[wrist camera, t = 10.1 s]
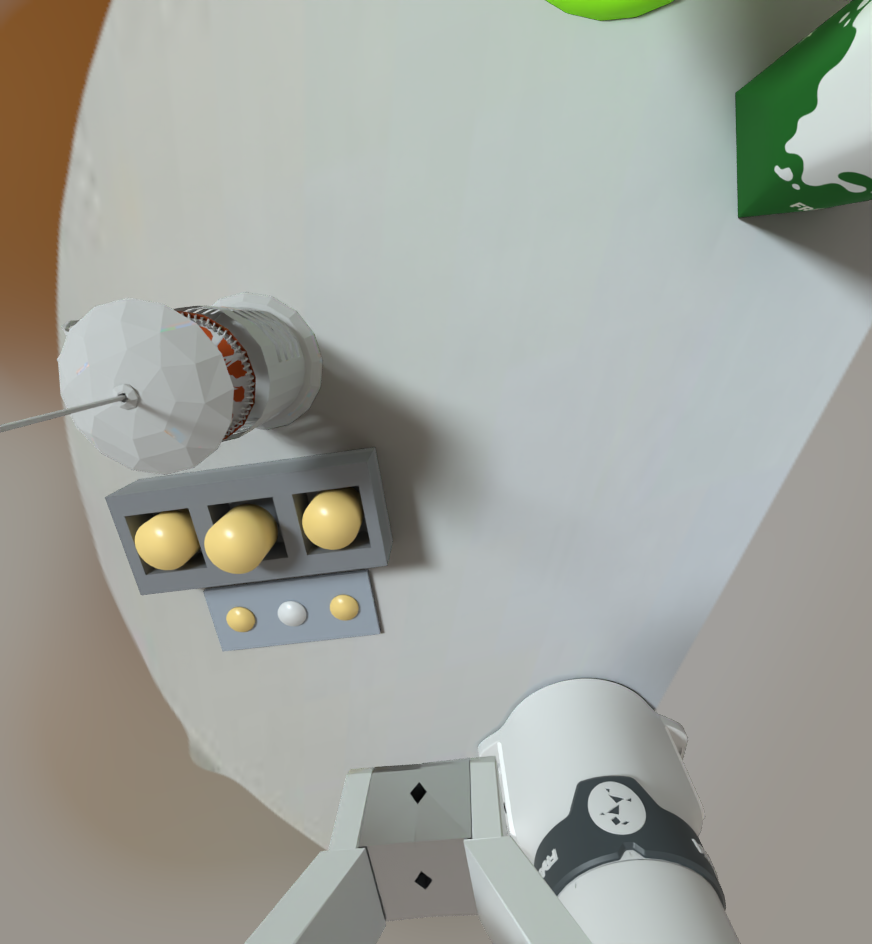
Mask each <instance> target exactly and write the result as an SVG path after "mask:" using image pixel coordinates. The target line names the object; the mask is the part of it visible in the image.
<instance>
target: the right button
mask: <svg viewBox="0 0 872 944" xmlns="http://www.w3.org/2000/svg"><path fill="white" fill-rule="evenodd" d="M364 516H365V515H364V510H363V505H362V500H361V495H360V493H359V492H358V491H357V490H355V489H354V488H352V487H344V488H336V489H329V490H321V491H319V492H318V493H317V495H316V496H315V497H314V499H313V500H312V501H311V503H310V504H309V506H308V507H307V508H306V510H305V512H304V514H303V519H302V525H303V529H304V532H305V534H306V536H307V537H308V538H309V539H310V541H312V542H313V543H314V544H315V545H317V546H319V547H321V548H324V549H329V550H336V549H341V548H344V547H346V546H348V545H349V544H350V543H352V542H353V540H354V539H355V538H356V536H357V534H358V531H359V529H360V526H361V524H362V521H363V519H364Z"/></svg>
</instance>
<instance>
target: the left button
mask: <svg viewBox="0 0 872 944" xmlns="http://www.w3.org/2000/svg"><path fill="white" fill-rule="evenodd" d="M135 546H136V549H137V552H138V553H139V555H140V556H141V558H142V559H143V560H144V561H145V562H146V563H148V564H149V565H151V566H153V567H155V568H157V569H161V570H174V569H177V568H179V567H181V566H183V565H184V564H185V563H186V562H187V561H188V560H189V559H190V558H191V557H192V556H193V555H194V554H195V553H196V552H198V551H199V550H200V549H201V547H200V543H199V540H198V537H197V534H196V531H195V528H194V525H193V521H192V518H191V515H190V512H189V509H188V508H184V509H177V510H169V511H162V512H160V513H159V514H157V515H156V516H154V517H153V518H151V519H150V520H149V521H147V522H146V523H144V524H143V525H142V526H141V527H139V529H138V530H137V532H136V535H135Z"/></svg>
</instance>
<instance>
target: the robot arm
mask: <svg viewBox="0 0 872 944" xmlns="http://www.w3.org/2000/svg"><path fill="white" fill-rule="evenodd" d="M687 741H688V738H687V735H686V733H685V731H684V728H683V727H682V725H680V724H679V723H678V722H675V721H674V720H672V719H669V718H667V717H664V716H662V715H659V714H658V713H656V712H655V711H654V710H653V709H652V708H651V707H650V706H649V705H648V704H647V703H646V702H645V701H644V700H643V699H642V698H641V697H640V696H639V695H638V694H636V693H635V692H633V691H632V690H630V689H628V688H626V687H624V686H622V685H619V684H616V683H613V682H610V681H605V680H599V679H573V680H566V681H562V682H558V683H555V684H551V685H549V686H546V687H544V688H542V689H540V690H538V691H536V692H534V693H533V694H531V695H530V696H528V697H527V698H526V699H524V700H523V701H522V702H521V703H520V704H519V705H518V706H517V707H516V708H515V709H514V711H513V712H512V713H511V715H510V716H509V718H508V719H507V721H506V722H505V724H504V725H503V726H502V727H501V729H500V730H498V731H497V732H495V733H493V734H492V735H490V736H489V737H487V738H486V739H485V740H484V741H482V742H481V743H480V745H479V746H478V756H479V757H477V758H471V759H470V758H465V759H456V760H447V761H437V762H428V763H422V764H412V765H397V766H382V767H373V768H359V769H350V771H349V773H348V774H347V776H346V780H345V784H344V788H343V792H342V796H341V800H340V804H339V808H338V813H337V817H336V821H335V825H334V829H333V833H332V837H331V841H330V846H329V850H328V851H321V852H320V853H319V854H318V855H317V857H316V858H315V859H314V860H313V861H312V863H311V864H310V865H309V866H308V867H307V869H306V870H305V871H304V872H303V873H302V875H301V876H300V877H299V878H298V880H297V881H296V882H295V883H294V884H293V885H292V887H291V888H290V889H289V890H288V892H287V893H286V894H285V895H284V896H283V897H282V899H281V900H280V901H279V902H278V904H277V905H276V906H275V907H274V908H273V909H272V911H271V912H270V913H269V914H268V915H267V917H266V918H265V919H264V920H263V922H262V923H261V924H260V925H259V926H258V927H257V929H256V930H255V931H254V932H253V934H252V935H251V936H250V937H249V938H248V940H247V941H246V942H245V943H244V944H376V943H377V941H378V939H379V938H380V936H381V934H382V932H383V930H384V928H385V926H386V922H385V921H394V920H404V919H413V918H423V917H434V916H464V915H478V917H479V919H480V921H481V923H482V925H483V927H484V929H485V931H486V933H487V934H488V936H489V938H490V940H491V942H492V944H741V943H740V942H739V939H738V937H737V935H736V933H735V931H734V929H733V927H732V925H731V923H730V920H729V918H728V916H727V914H726V912H725V909H726V903H725V897H724V894H723V891H722V888H721V886H720V884H719V882H718V877H717V873H716V871H715V868H714V866H713V864H712V862H711V860H710V858H709V856H708V854H707V853H706V851H704V849H703V846H702V844H701V842H700V840H699V838H698V836H699V834H700V832H701V829H702V820H704V819H705V812H704V808H703V805H702V803H701V801H700V799H699V796H698V794H697V792H696V790H695V787H694V785H693V783H692V781H691V778H690V776H689V774H688V772H687V770H686V767H685V765H684V763H683V757H684V753H685V750H686V745H687ZM507 828H508V830H509V833H510V835H511V836H508V832H507Z"/></svg>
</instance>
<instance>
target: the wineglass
mask: <svg viewBox="0 0 872 944" xmlns="http://www.w3.org/2000/svg"><path fill="white" fill-rule="evenodd" d="M546 1H548V2H549V3H551V4H552V5H554V6H556V7H557V8H559V9H561V10H562V11H564V12H566V13H569V14H573V15H578V16H582V17H586V18H591V19H595V20H600V21H603V20H613V19H623V18H633V17H638V16H640V15H642V14H645V13H647V12H650V11H652V10H654V9H657V8H659V7H662V6H664V5H666V4H669V3H671V2H672V1H674V0H546Z"/></svg>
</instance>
